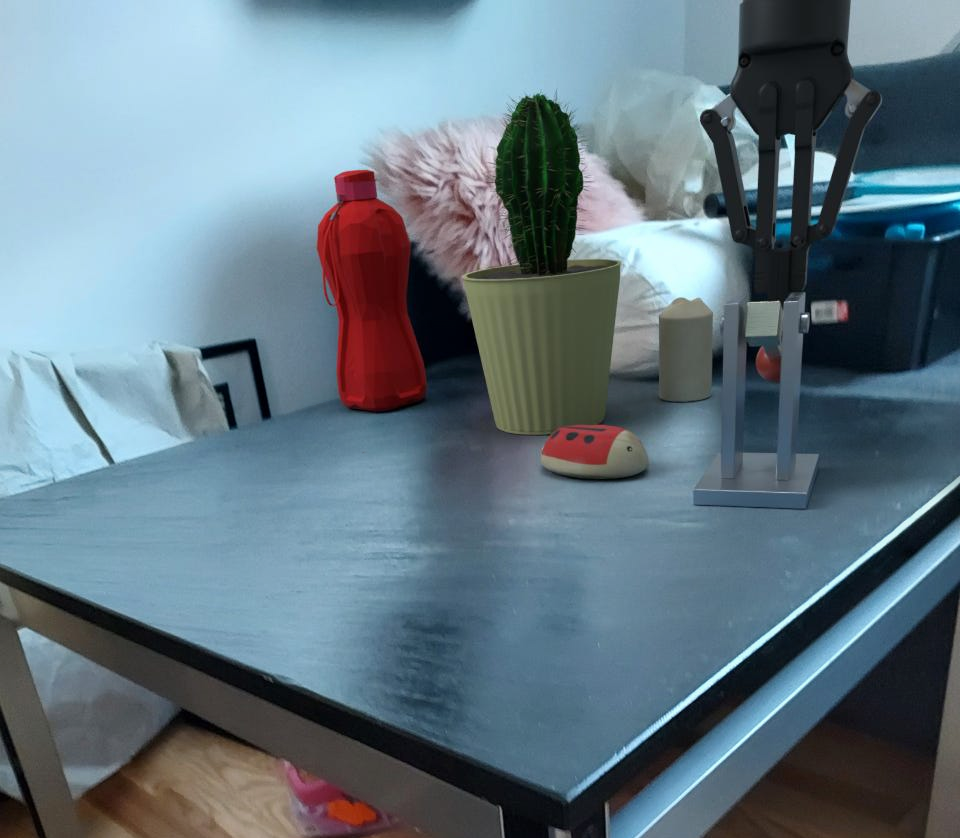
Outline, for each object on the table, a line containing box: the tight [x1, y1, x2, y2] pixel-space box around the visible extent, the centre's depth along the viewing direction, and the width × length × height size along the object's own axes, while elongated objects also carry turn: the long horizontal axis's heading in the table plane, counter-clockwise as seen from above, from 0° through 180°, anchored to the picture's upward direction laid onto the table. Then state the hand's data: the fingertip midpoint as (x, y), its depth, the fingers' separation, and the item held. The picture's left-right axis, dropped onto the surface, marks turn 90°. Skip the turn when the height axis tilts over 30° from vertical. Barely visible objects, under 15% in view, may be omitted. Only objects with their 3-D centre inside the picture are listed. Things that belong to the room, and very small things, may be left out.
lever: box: [745, 301, 783, 384], centre depth 73 cm, size 14×4×4 cm, turn 158°
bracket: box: [692, 291, 820, 510], centre depth 70 cm, size 10×8×14 cm
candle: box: [658, 297, 714, 403], centre depth 100 cm, size 6×6×10 cm
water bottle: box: [316, 169, 428, 413], centre depth 107 cm, size 9×11×25 cm
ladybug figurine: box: [540, 424, 650, 480], centre depth 80 cm, size 7×10×4 cm
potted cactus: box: [461, 88, 622, 436], centre depth 92 cm, size 15×15×30 cm
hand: (777, 335), depth 77 cm, fingers closed
